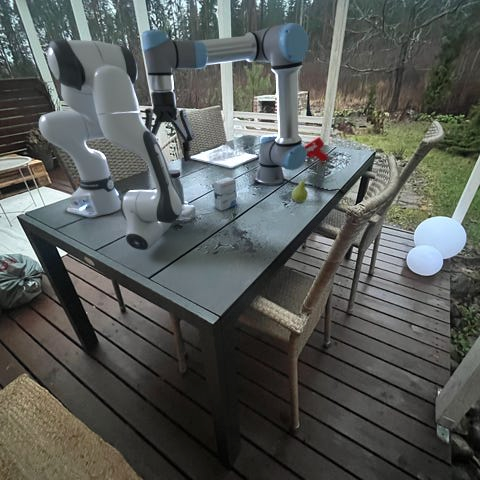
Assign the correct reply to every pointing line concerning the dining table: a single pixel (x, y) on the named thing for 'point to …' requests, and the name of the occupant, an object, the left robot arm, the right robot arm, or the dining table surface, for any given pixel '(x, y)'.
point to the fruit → (300, 192)
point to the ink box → (225, 193)
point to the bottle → (179, 188)
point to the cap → (175, 173)
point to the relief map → (225, 156)
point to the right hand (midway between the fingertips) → (172, 159)
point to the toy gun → (316, 149)
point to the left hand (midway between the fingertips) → (176, 202)
